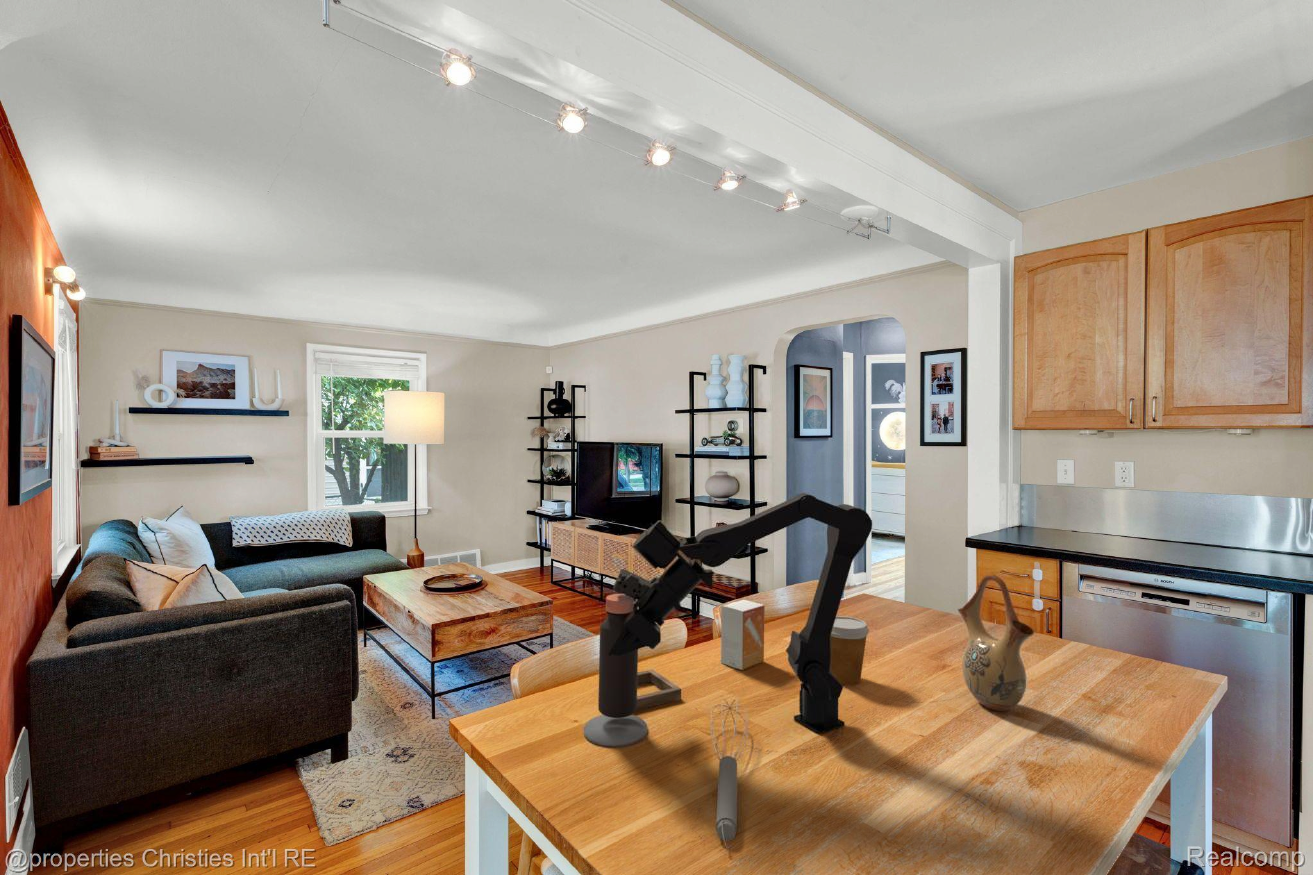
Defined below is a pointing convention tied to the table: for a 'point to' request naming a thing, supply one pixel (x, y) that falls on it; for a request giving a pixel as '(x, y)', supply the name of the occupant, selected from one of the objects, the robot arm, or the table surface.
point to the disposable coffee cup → (848, 649)
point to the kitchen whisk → (727, 786)
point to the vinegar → (617, 662)
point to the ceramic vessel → (994, 654)
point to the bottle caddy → (656, 698)
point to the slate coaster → (615, 730)
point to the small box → (742, 634)
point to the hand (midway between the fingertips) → (610, 649)
